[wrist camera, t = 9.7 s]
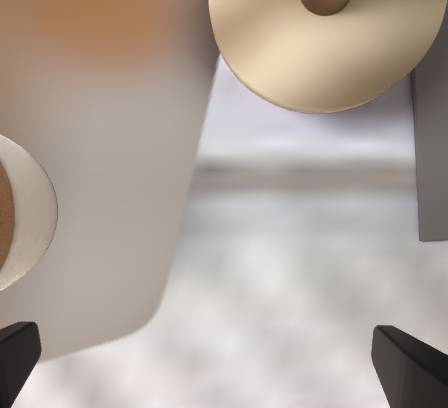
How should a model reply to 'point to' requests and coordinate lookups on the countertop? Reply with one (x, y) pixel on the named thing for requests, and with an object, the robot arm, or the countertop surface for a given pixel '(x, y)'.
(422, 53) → the disc with tall peg
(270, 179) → the countertop surface
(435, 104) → the mat
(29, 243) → the lidded jar
